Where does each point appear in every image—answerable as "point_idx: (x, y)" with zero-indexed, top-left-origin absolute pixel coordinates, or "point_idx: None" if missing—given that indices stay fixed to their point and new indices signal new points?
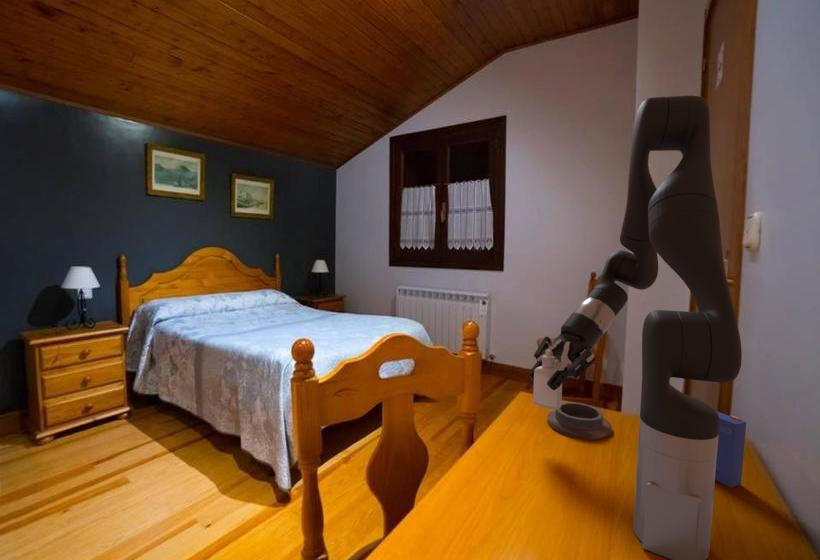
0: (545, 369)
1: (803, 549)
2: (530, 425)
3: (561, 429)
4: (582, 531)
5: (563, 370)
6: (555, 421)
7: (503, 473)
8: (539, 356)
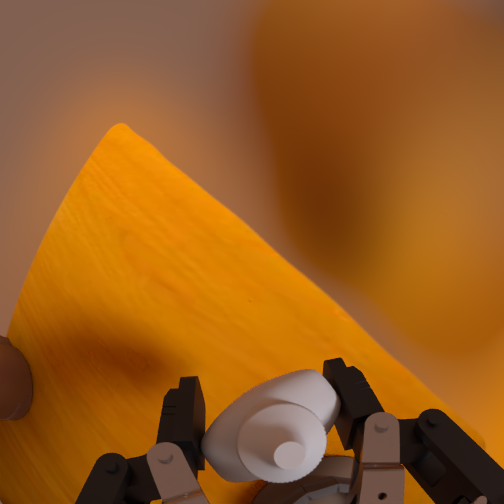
0: (252, 403)
1: None
2: None
3: None
4: (42, 295)
5: (152, 452)
6: (338, 471)
7: (174, 260)
8: (415, 438)
